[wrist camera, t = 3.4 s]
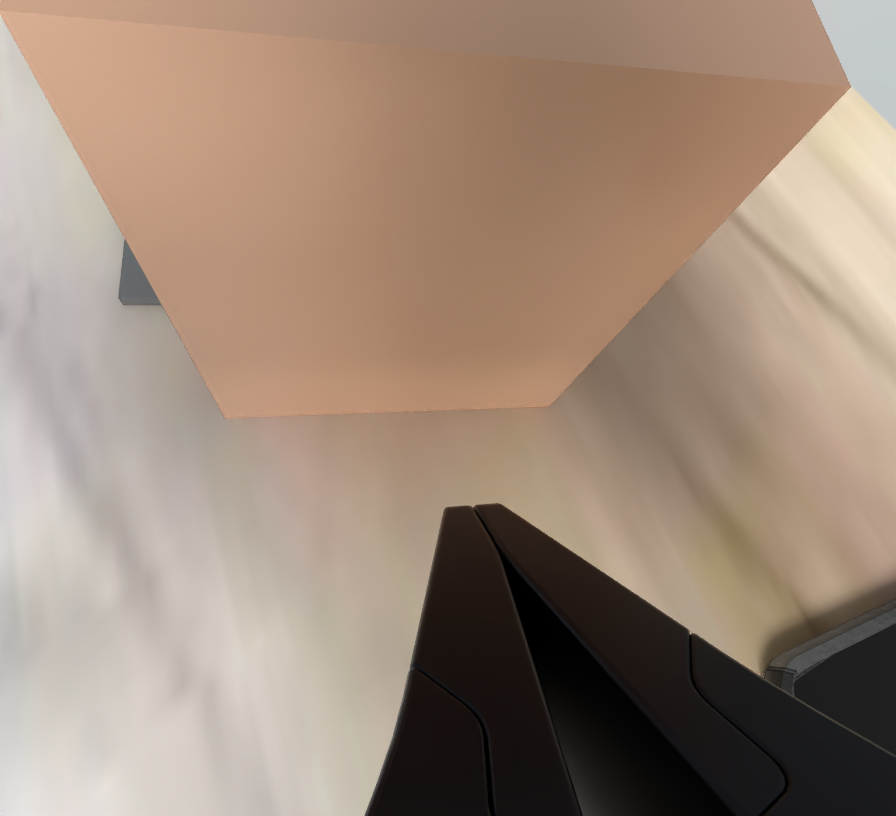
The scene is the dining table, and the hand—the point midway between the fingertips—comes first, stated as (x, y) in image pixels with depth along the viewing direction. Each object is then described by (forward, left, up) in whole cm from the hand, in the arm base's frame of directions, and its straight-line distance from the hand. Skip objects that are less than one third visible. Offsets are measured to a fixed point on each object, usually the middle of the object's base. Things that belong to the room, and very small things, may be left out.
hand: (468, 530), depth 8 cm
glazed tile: (+5, +4, -8) cm, 10 cm away
